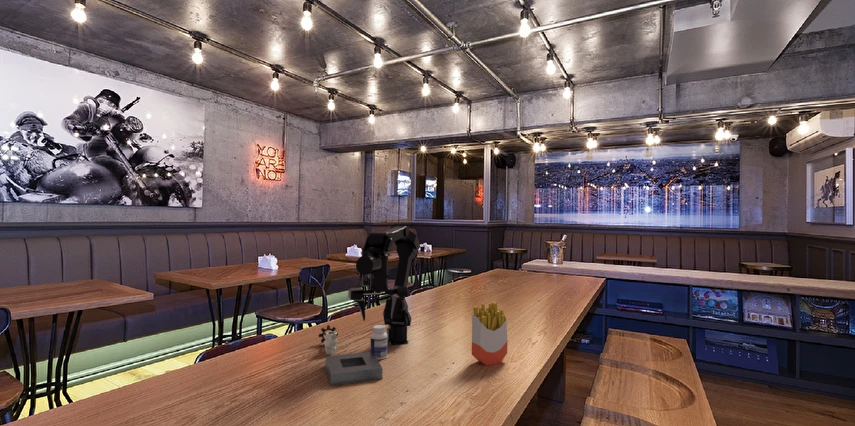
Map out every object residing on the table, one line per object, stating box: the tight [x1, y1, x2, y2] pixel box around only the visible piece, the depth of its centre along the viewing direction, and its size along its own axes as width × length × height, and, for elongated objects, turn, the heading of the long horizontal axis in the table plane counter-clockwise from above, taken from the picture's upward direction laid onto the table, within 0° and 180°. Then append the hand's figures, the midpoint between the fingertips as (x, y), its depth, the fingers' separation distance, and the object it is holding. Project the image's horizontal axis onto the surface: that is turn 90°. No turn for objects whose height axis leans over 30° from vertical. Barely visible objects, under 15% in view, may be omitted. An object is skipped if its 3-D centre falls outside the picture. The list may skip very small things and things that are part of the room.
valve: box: [318, 324, 339, 356], centre depth 131 cm, size 7×7×12 cm
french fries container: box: [471, 301, 508, 366], centre depth 121 cm, size 5×11×18 cm, turn 119°
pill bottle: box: [369, 324, 388, 361], centre depth 124 cm, size 5×5×10 cm
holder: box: [324, 351, 383, 387], centre depth 111 cm, size 14×14×3 cm
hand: (378, 319), depth 124 cm, fingers open, 9 cm apart
